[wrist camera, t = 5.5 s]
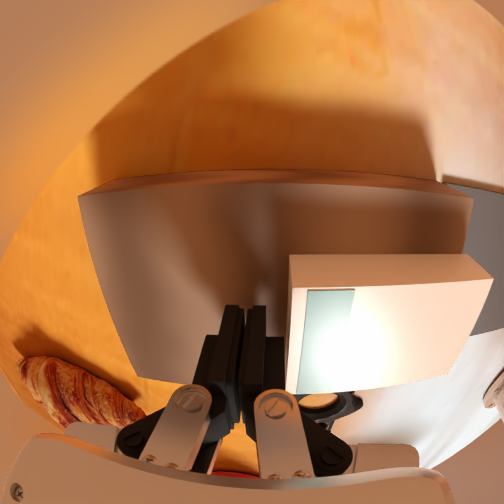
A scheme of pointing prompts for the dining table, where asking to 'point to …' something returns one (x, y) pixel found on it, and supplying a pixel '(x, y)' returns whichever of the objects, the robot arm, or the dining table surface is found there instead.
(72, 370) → the croissant
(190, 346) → the board
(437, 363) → the cream box
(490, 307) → the mat
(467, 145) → the dining table surface
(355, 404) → the green flat piece
